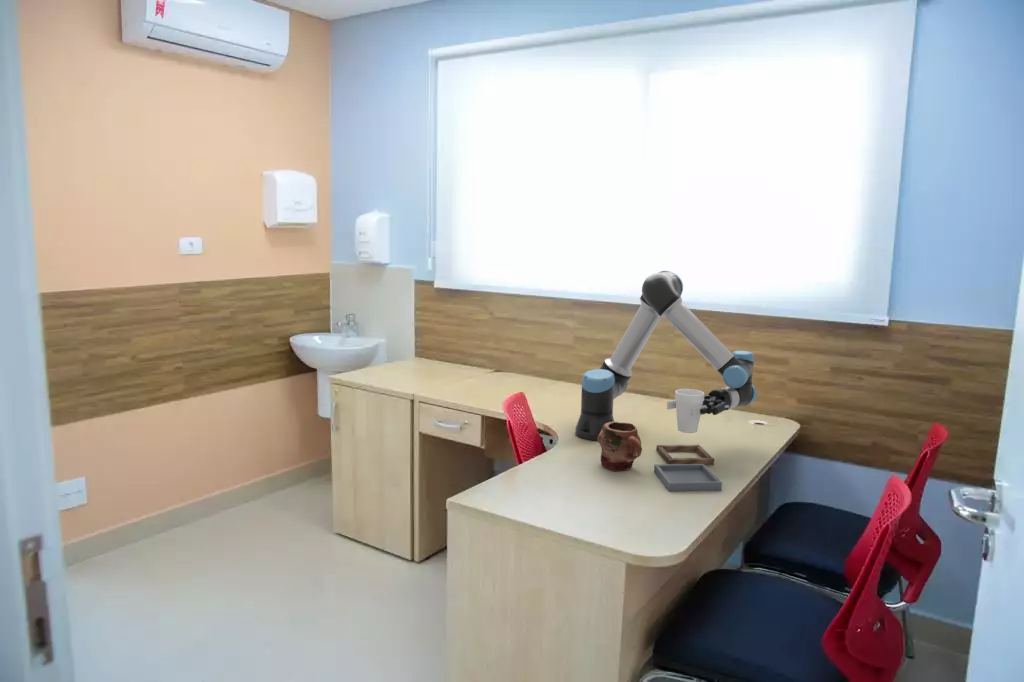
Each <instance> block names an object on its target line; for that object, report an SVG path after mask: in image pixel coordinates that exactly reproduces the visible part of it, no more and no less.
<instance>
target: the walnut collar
mask: <svg viewBox="0 0 1024 682" xmlns="http://www.w3.org/2000/svg"><path fill="white" fill-rule="evenodd" d="M655 447H656V450H655V451H656V452H657V453H658V455H659V456H660V457H661V458H662V459H663V460H664V461H665V464H704V465H705V466H714V465H715V458H713V456H712V455H710V454H709V453H708V451H706V450H705V449H704V448H703V447H702V446H701V445H700V444H656V446H655ZM682 452H683V453H686V452H687V453H689V452H691V453H692V452H693V453H696V454H697V455H699V456H700V457H678V458H677V457H672V456H671V455H670V454H669V453H682Z"/></svg>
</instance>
